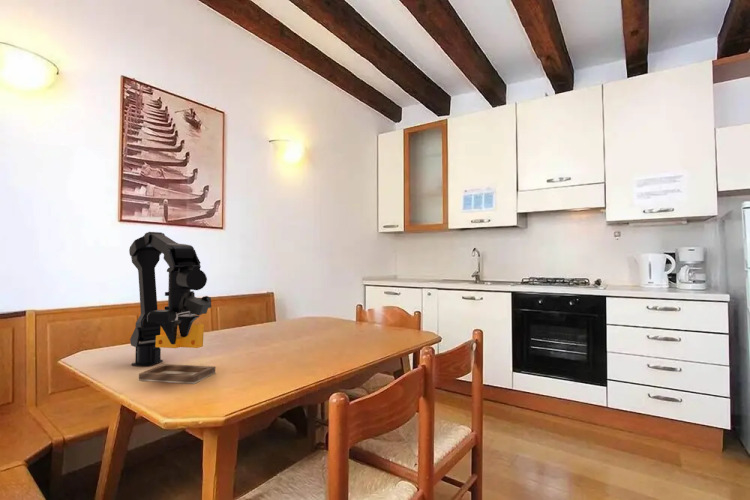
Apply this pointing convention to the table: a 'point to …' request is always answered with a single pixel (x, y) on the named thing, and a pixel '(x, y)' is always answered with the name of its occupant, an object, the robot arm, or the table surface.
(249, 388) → the table surface
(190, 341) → the pipe clamp
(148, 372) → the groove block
